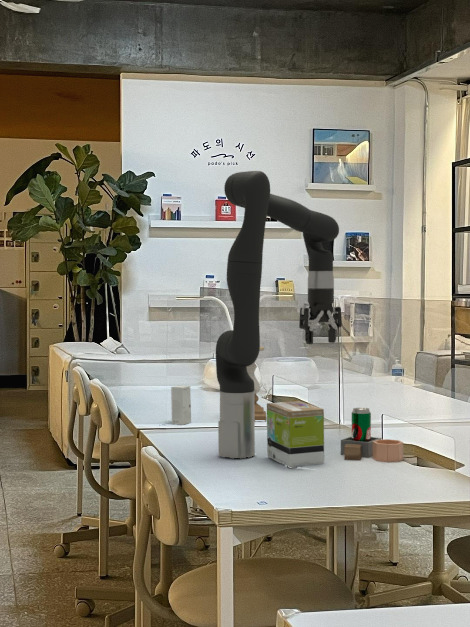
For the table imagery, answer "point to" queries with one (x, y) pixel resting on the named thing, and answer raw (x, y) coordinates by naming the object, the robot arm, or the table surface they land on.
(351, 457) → the walnut block
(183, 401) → the skincare box
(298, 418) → the tea box
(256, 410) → the candle holder
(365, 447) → the bin
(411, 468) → the table surface
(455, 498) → the table surface
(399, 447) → the bowl
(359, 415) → the soda can
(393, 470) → the table surface
